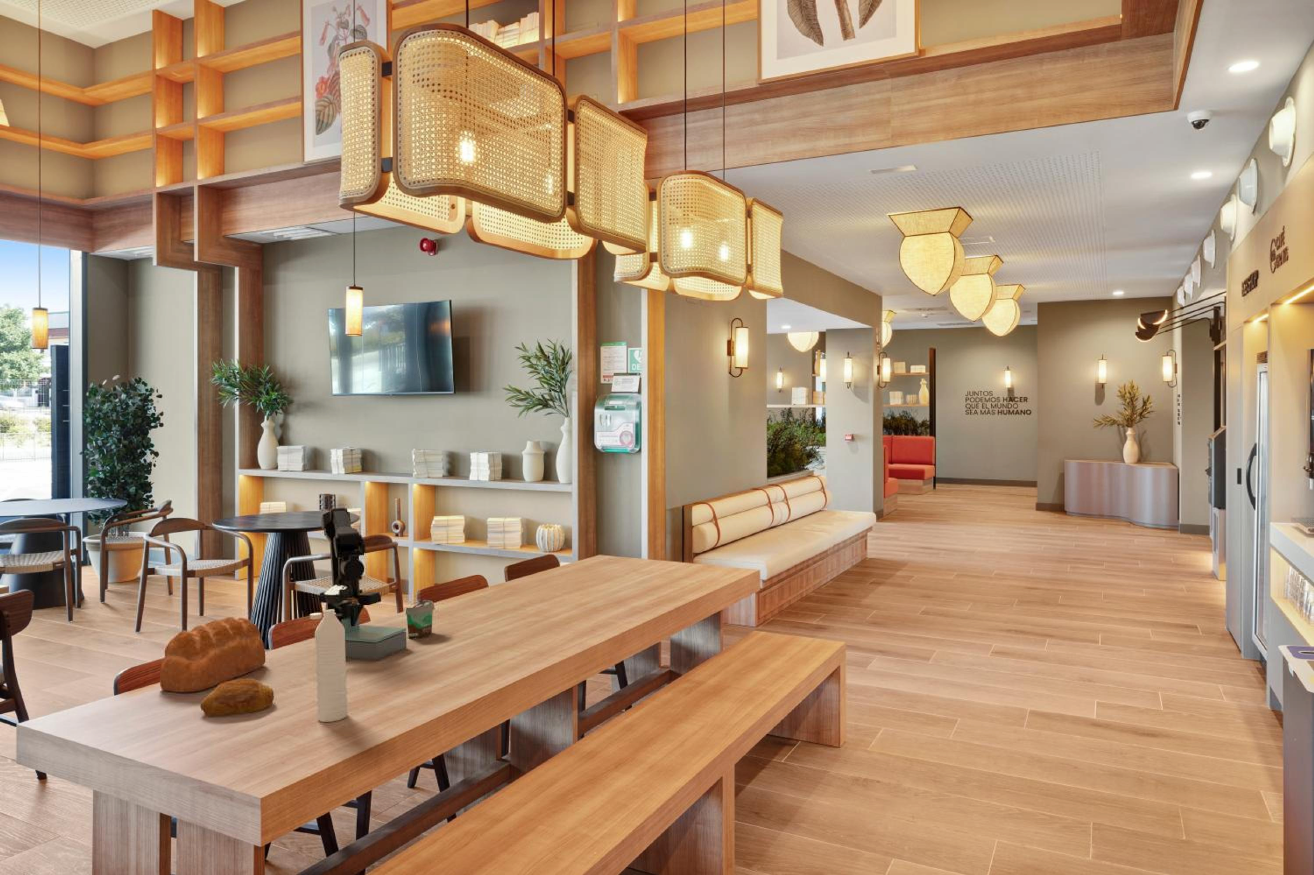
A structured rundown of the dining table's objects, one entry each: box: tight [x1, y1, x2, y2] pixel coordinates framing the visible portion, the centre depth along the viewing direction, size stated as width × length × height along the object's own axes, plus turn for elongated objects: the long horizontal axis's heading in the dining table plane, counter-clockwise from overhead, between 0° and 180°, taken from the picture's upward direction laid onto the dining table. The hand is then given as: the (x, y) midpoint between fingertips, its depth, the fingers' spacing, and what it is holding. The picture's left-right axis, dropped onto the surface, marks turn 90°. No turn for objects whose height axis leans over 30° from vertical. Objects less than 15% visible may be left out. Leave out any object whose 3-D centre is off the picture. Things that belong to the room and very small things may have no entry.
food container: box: [405, 599, 436, 640], centre depth 269 cm, size 12×6×10 cm, turn 168°
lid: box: [341, 616, 407, 643], centre depth 249 cm, size 16×14×5 cm
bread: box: [159, 616, 267, 693], centre depth 228 cm, size 14×26×16 cm, turn 163°
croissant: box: [200, 677, 275, 717], centre depth 203 cm, size 14×16×8 cm
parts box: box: [345, 631, 408, 662], centre depth 249 cm, size 16×14×5 cm
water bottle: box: [309, 609, 348, 723], centre depth 193 cm, size 9×6×25 cm
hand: (350, 626), depth 251 cm, fingers closed on lid, 2 cm apart
